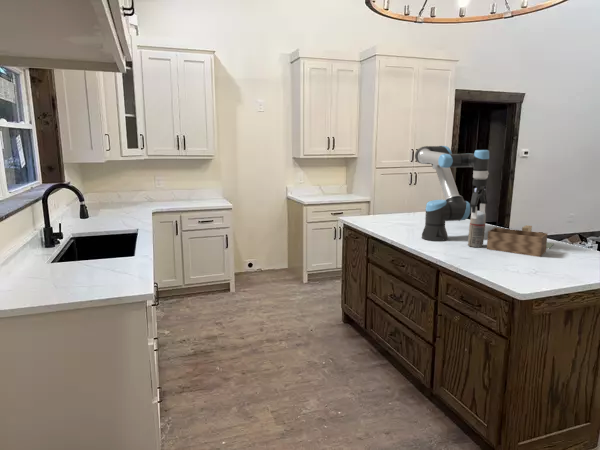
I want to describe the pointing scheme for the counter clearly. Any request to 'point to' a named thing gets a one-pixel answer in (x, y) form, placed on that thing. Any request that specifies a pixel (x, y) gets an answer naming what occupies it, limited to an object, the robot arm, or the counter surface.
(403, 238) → the counter surface
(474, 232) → the spray can
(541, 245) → the wooden box
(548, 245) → the lid
